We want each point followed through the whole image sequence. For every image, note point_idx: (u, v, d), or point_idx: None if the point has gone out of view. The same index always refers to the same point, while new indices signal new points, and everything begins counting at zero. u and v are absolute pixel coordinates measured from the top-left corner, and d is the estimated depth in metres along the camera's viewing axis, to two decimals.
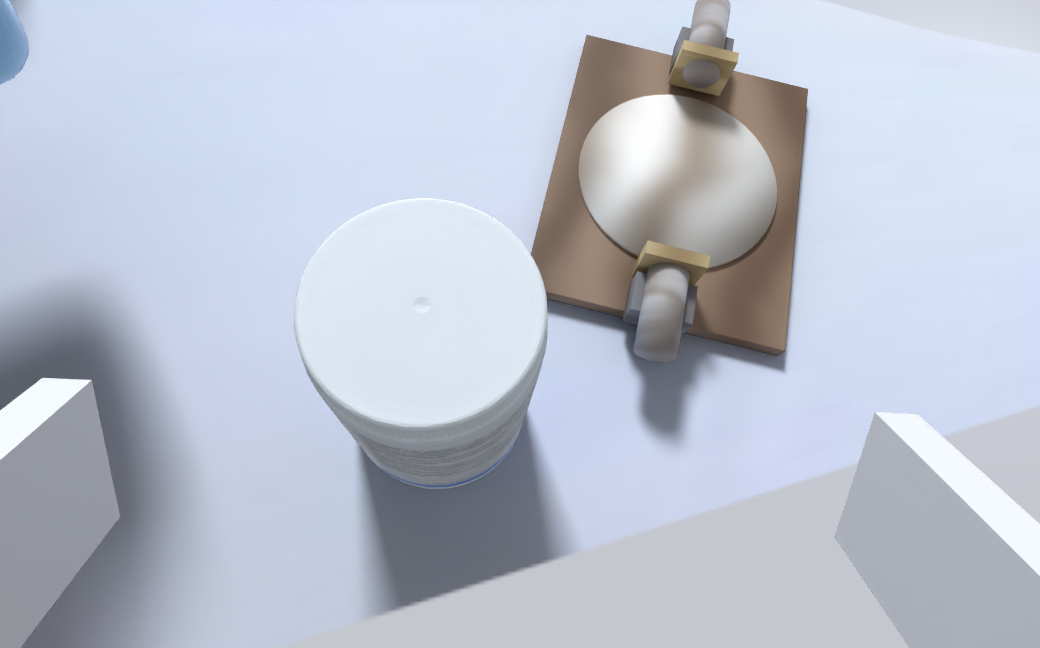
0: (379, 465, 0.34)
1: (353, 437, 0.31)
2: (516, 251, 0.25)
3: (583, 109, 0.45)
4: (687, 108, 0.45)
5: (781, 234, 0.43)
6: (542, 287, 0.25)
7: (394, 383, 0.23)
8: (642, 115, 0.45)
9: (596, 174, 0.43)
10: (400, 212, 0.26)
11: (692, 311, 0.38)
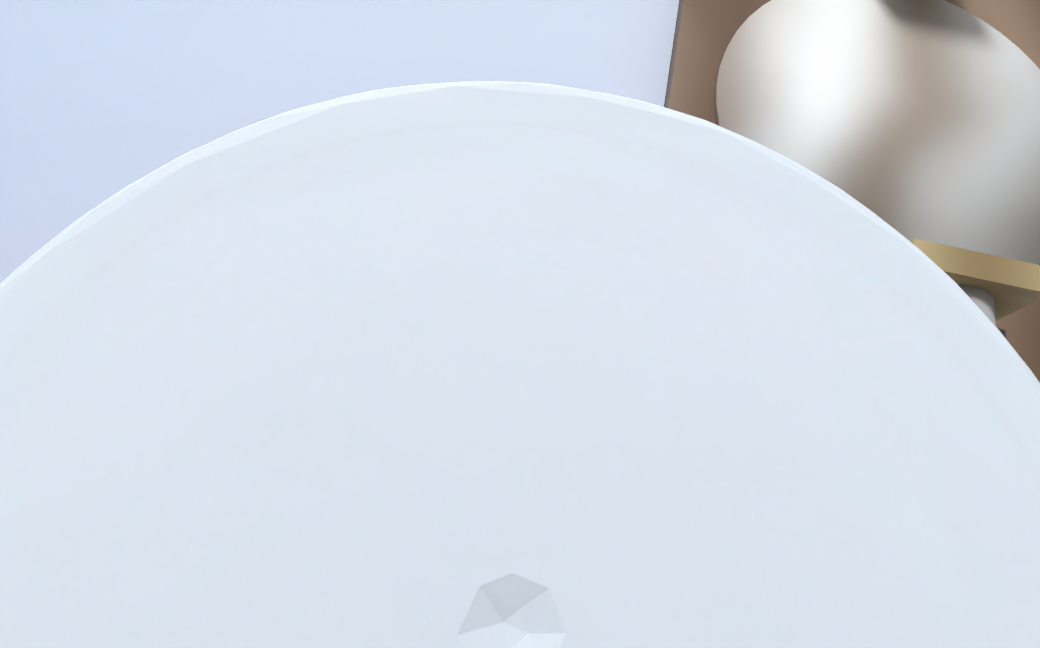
0: None
1: None
2: (926, 299, 0.05)
3: (710, 8, 0.25)
4: (893, 3, 0.25)
5: None
6: None
7: None
8: (818, 15, 0.25)
9: (752, 119, 0.23)
10: (378, 138, 0.06)
11: None
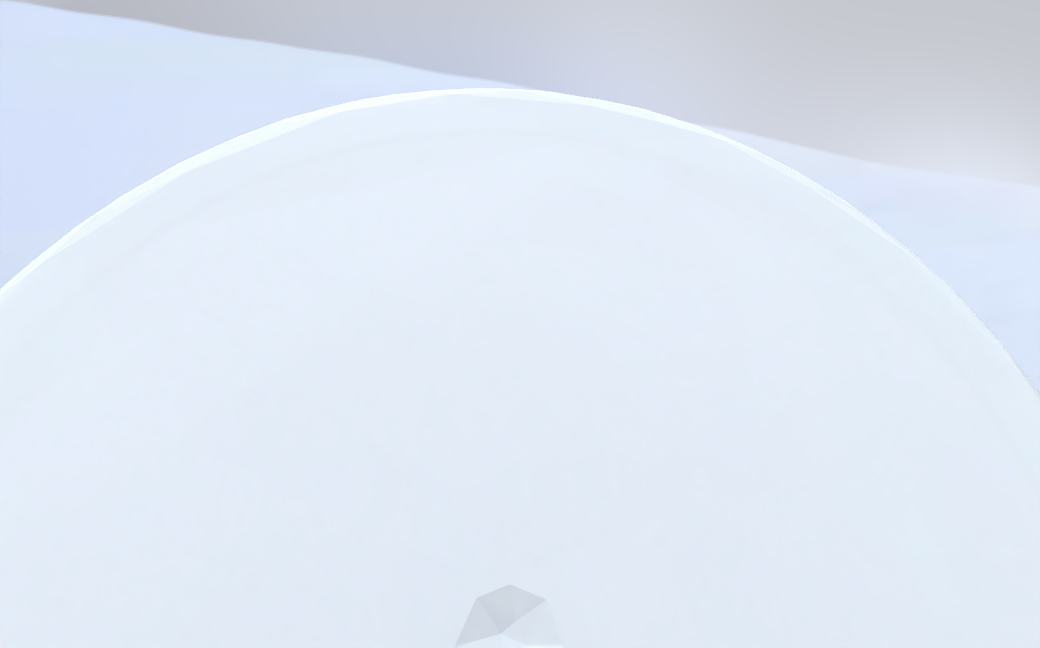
0: None
1: None
2: (924, 307, 0.05)
3: None
4: None
5: None
6: None
7: None
8: None
9: None
10: (375, 146, 0.06)
11: None
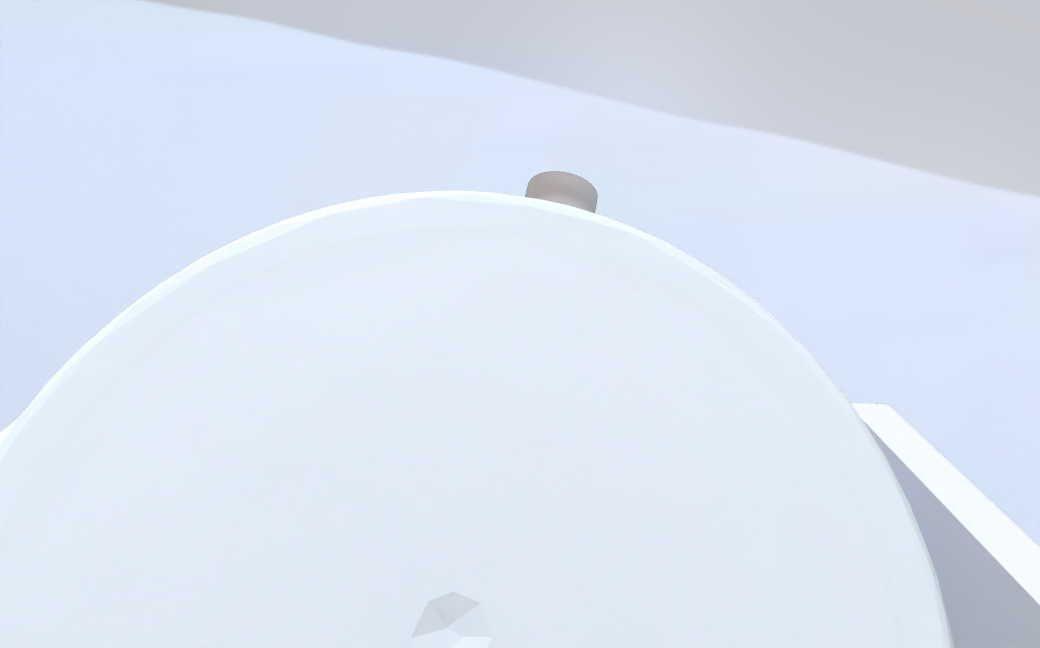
0: None
1: None
2: (788, 372, 0.07)
3: None
4: None
5: None
6: (912, 519, 0.06)
7: None
8: None
9: None
10: (356, 243, 0.07)
11: None
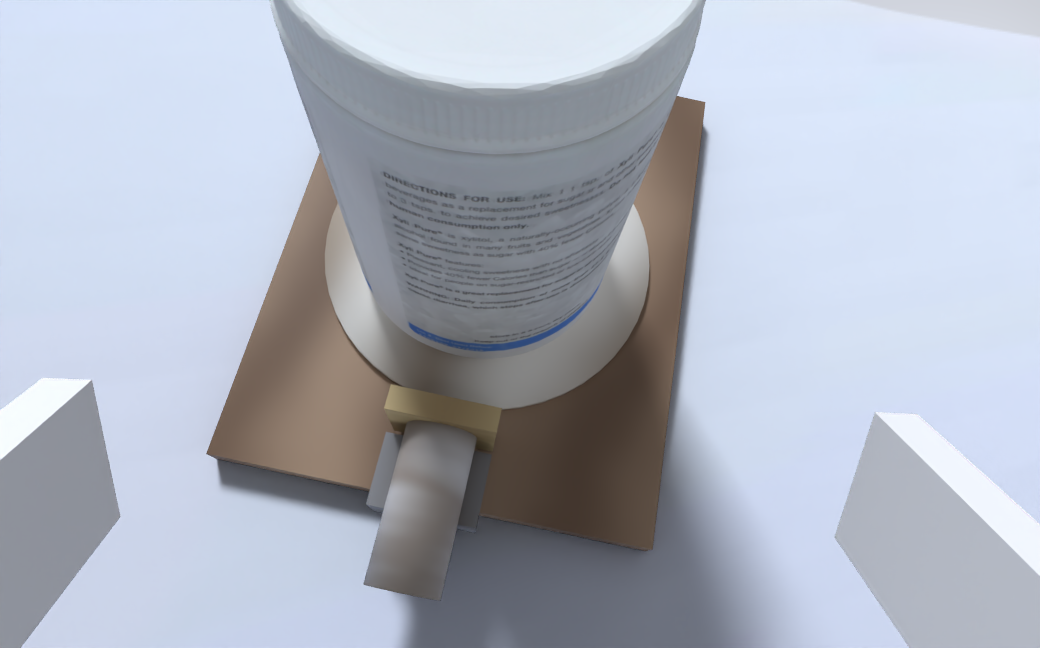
0: (405, 313, 0.22)
1: (366, 247, 0.20)
2: None
3: None
4: None
5: (655, 339, 0.26)
6: None
7: (450, 20, 0.12)
8: None
9: (353, 252, 0.26)
10: None
11: (478, 503, 0.22)
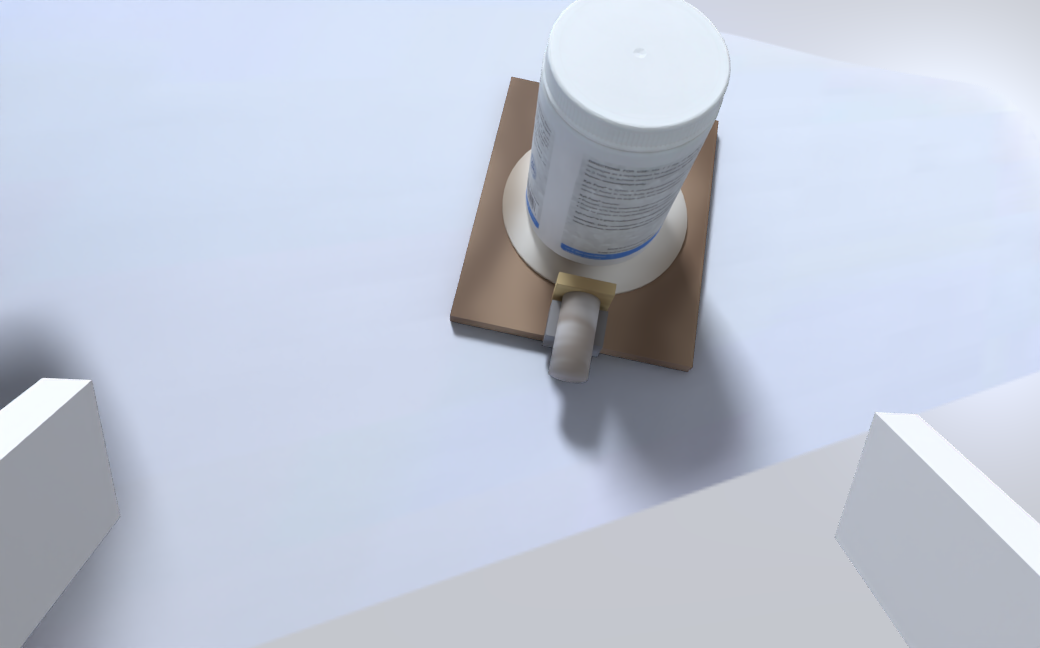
0: (562, 237, 0.42)
1: (554, 198, 0.39)
2: (701, 19, 0.34)
3: (507, 147, 0.48)
4: None
5: (691, 258, 0.46)
6: (724, 42, 0.34)
7: (629, 101, 0.32)
8: None
9: (518, 209, 0.46)
10: None
11: (603, 335, 0.41)
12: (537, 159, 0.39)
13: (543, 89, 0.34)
